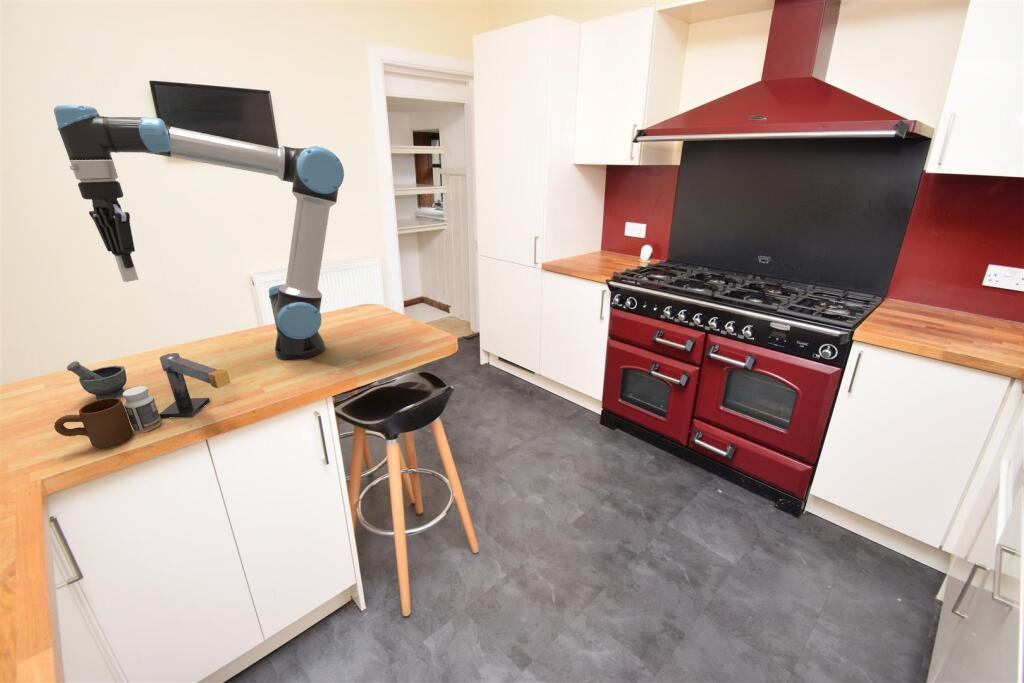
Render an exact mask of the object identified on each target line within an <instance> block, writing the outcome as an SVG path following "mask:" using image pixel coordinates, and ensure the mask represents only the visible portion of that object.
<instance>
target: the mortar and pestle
mask: <svg viewBox="0 0 1024 683" xmlns="http://www.w3.org/2000/svg"><path fill="white" fill-rule="evenodd" d="M66 370H67V371H68V372H72V373H73V374H75V375H76V376H77V377H79V378H78V379H79V383H80V385H81V387H82V389H83V390H84V391H86V392H87V393H88V394H91V395H95V399H96V400H95V401H97V400H101V399H106V398H120V397H123V392H125V390H124V387H125V386H126V383H127V380H128V379H127V373H126V368H125V366H122V365H111V366H104V367H103V366H102V367H100V368H95V369H93V370H90V369H89V368H87V367H85V366H84V365H82V364H80V362H79V361H77V360H76V361H72V362H70V363H69V364H68V365H67V366H66Z"/></svg>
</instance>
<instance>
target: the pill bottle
mask: <svg viewBox="0 0 1024 683" xmlns="http://www.w3.org/2000/svg"><path fill="white" fill-rule="evenodd" d="M149 392H150V391H149V388H148V387H147V386H143V385H142V386H134V387H132V388H129V389H126V390H124V392H123V395H122V397H123V399H124V400H125V401H124V403H123V405H124V408H125V410H126V413H127V416H128V418H129V421H130V424H131V427H132V430H133V432H136V433H145V432H149V431H151V430H154V429H156V428H159V426H160V425H161V424H162V418H160V415H159V414H160V412H159V410H158V407H157V405H156V404H157V403H156V401H155V398H154V397H153V395H151V394H149Z"/></svg>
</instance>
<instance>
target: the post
mask: <svg viewBox="0 0 1024 683" xmlns="http://www.w3.org/2000/svg"><path fill="white" fill-rule="evenodd" d="M165 373H166V377H167V380H168V383H169V387H170V389H171V391H172V396H173V399H174V401H173V402H172V403H170V405H168V406H167V407H166V408H165V409H163V410H162V411H161V412H159V415H160V418H161V419H170V418H169V417H184V418H194V417H195V416H196V415H197V414H198V413H200V411H202V410H203V409H202V408H203V407H204V406H205V405H206V406H207V405H209V403H211V399H210V397H193V398H192V397H191V395H190V392H189V389H188V386H187V382H186V379H185V375H184V374H181V373H178V372H175V371H168V372H167V371H165ZM206 406H205V407H206ZM205 407H204V408H205ZM201 409H202V410H201ZM196 413H197V414H196ZM195 414H196V415H195ZM194 415H195V416H194ZM193 416H194V417H193Z"/></svg>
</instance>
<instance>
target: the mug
mask: <svg viewBox="0 0 1024 683" xmlns="http://www.w3.org/2000/svg"><path fill="white" fill-rule="evenodd" d="M66 423H82V425H83V427H82V426H79V427H73V428H68V427H66V426H65V424H66ZM53 427H54V430H55V431H56V433H58V434H59V435H61V436H63V437H76V436H82V437H88V439H89V442H90V445H91V446H92V447H93V448H94V449H96V450H108V449H113V448H116V447H119V446H122V445H124V444H126V443H127V442H129V441H130V440H131V439H132V438H133V436H134V430H133V428H132V425H131V423H130V420H129V417H128V415H127V412H126V410H125V407H124V403H123V402H122V400H121V398H120V397H118V398H106V399H101V400H94V401H91V402H89V403H86V404H85V405H83V406H82V407H80V409H79V410H78V414H66V415H63V416H61V417H59V418H57V420H56V421H55V422H54V425H53Z"/></svg>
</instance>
